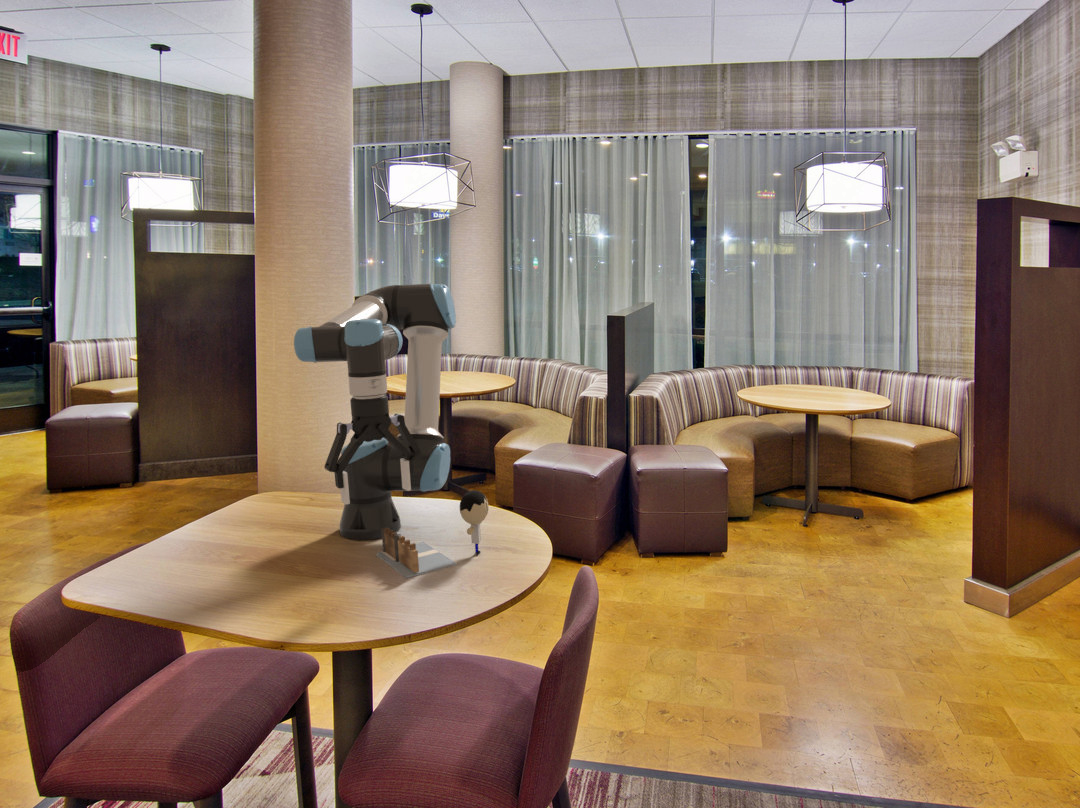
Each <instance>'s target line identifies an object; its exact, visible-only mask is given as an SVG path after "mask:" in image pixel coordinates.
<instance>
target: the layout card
mask: <svg viewBox="0 0 1080 808" xmlns="http://www.w3.org/2000/svg"><path fill="white" fill-rule="evenodd" d="M415 544H416V550H417V551H418V563H419V572H416V573H414V572H413V571H412V570H410V569H409V568H408V567H406V566H405V565H404V564H402V563H401V562H396V560H395V559H394V558H393V557H391V556H390V555H389V554H387V553H386V552H383V551H382V552H377V553H376V557H378V558H380V560H382V561H383V562H384V563H386V564H387V565H388V566H389V567H391V568H393V569H394V570H395V571H396V572H398V573H399V574H400V575H401V576H403V577H404V578H405V579H408V578H412V577H416V576H419V575H423V574H428V573H430V572H435V571H438V570H441V569H445V568H449V567H453V566H456V565H457V562H456V561H454V560H452V559H451V558H449V557H448V556H446V555H445V554H443V553H442V552H440V551H439V550H437V549H436V548H434V547H432V546H430V545H429V544H427V543H426V542H424V541H422V542H417V543H415Z"/></svg>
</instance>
